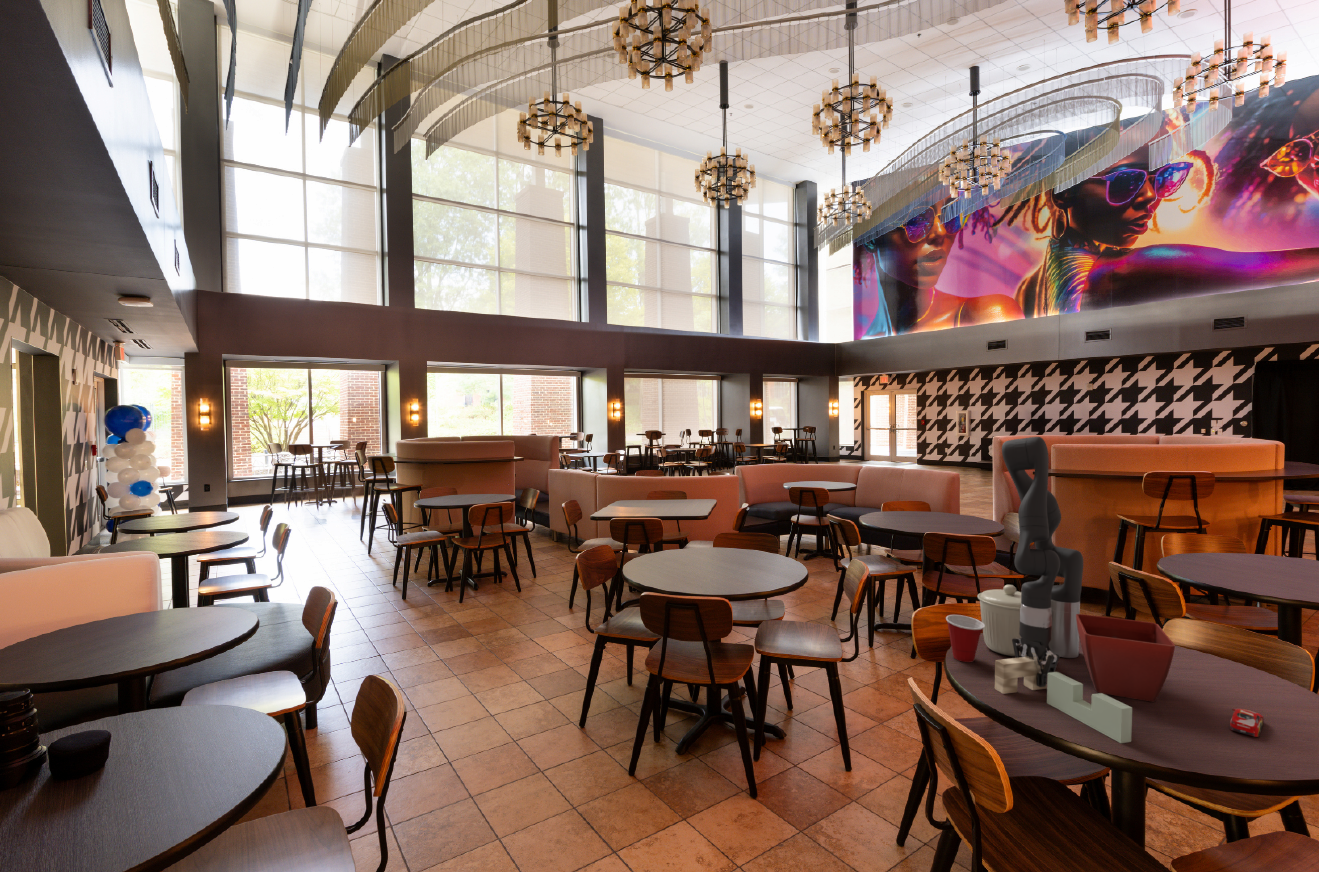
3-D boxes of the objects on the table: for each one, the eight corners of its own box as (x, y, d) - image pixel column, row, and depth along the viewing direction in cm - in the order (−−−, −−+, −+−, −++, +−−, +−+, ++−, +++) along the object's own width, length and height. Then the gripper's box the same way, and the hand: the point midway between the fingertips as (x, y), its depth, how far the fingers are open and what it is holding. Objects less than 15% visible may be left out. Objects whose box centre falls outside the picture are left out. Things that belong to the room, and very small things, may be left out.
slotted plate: (1037, 683, 171) (1037, 655, 171) (1046, 688, 168) (1046, 659, 168) (994, 688, 168) (995, 660, 168) (1003, 693, 165) (1003, 664, 165)
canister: (1030, 667, 183) (1032, 597, 182) (967, 649, 196) (968, 584, 195) (1049, 651, 195) (1051, 585, 194) (988, 636, 208) (990, 574, 207)
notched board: (1046, 703, 160) (1047, 672, 160) (1056, 701, 161) (1057, 671, 160) (1120, 743, 140) (1121, 709, 140) (1131, 741, 141) (1132, 707, 141)
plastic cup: (978, 669, 181) (979, 629, 181) (940, 659, 189) (940, 620, 188) (988, 658, 189) (989, 619, 189) (951, 649, 196) (952, 612, 196)
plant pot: (1083, 695, 164) (1084, 633, 164) (1073, 669, 181) (1075, 612, 181) (1174, 711, 155) (1176, 646, 155) (1155, 682, 172) (1157, 623, 172)
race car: (1235, 715, 154) (1235, 699, 154) (1265, 723, 150) (1266, 707, 150) (1226, 732, 146) (1226, 715, 146) (1257, 741, 142) (1258, 724, 142)
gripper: (1003, 614, 175) (1002, 673, 175) (1046, 631, 161) (1044, 695, 161) (1025, 612, 176) (1024, 670, 177) (1069, 629, 163) (1067, 692, 163)
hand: (1034, 682), depth 169 cm, fingers open, 4 cm apart
